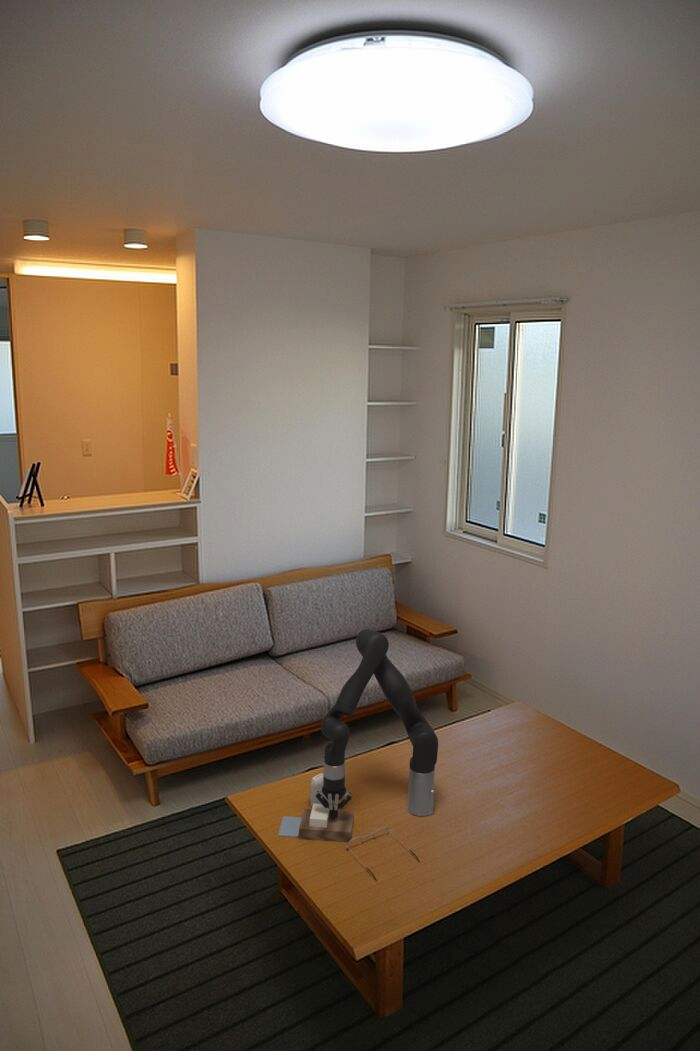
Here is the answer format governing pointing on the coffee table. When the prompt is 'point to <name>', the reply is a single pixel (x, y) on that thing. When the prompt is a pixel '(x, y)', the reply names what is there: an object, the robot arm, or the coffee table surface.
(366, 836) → the eyeglasses
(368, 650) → the robot arm
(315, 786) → the photo printer
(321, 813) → the cream rectangular block
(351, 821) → the brown flat block
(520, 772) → the coffee table surface
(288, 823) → the mat
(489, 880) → the coffee table surface
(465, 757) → the coffee table surface
